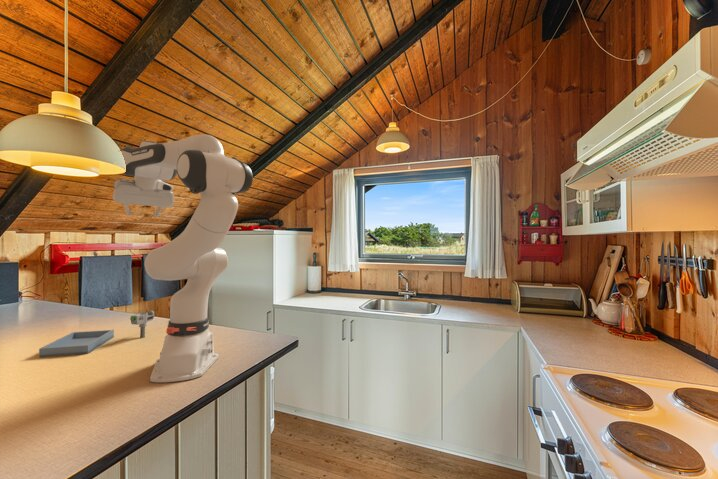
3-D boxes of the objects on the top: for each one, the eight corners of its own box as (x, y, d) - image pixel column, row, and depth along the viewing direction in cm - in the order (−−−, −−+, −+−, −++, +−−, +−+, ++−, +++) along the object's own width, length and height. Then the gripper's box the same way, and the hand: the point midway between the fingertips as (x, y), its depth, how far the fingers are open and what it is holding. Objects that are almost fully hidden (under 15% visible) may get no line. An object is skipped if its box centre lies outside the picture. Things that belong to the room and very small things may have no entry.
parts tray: (87, 353, 104) (87, 345, 104) (39, 357, 100) (39, 348, 100) (113, 337, 121) (113, 329, 121) (72, 339, 117) (73, 332, 117)
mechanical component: (155, 333, 126) (156, 310, 126) (135, 341, 116) (135, 316, 116) (149, 333, 126) (149, 309, 126) (128, 341, 116) (128, 316, 116)
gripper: (117, 179, 108) (112, 215, 110) (177, 188, 124) (172, 219, 127) (112, 175, 111) (108, 210, 114) (171, 184, 128) (166, 215, 130)
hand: (142, 215), depth 121 cm, fingers open, 8 cm apart
